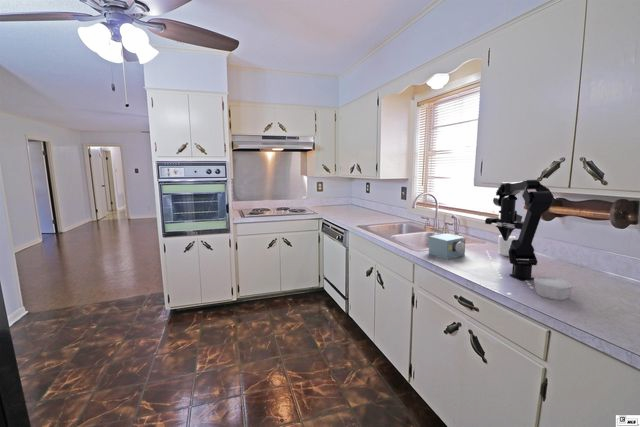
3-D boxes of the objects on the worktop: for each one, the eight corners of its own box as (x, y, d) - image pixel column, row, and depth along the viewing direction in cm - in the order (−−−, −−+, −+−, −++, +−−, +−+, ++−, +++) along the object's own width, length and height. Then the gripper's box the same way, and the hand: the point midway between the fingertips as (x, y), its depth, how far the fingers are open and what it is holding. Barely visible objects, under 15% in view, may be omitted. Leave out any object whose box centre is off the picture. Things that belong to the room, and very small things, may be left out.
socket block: (465, 255, 159) (466, 237, 157) (446, 259, 153) (447, 240, 151) (446, 250, 170) (447, 233, 168) (428, 253, 164) (429, 236, 162)
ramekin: (550, 287, 115) (552, 275, 114) (579, 300, 104) (581, 286, 103) (525, 290, 113) (526, 277, 113) (551, 303, 102) (553, 288, 102)
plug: (464, 252, 154) (465, 241, 153) (456, 254, 151) (457, 242, 150) (443, 246, 166) (443, 236, 166) (435, 247, 164) (435, 237, 163)
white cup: (513, 253, 160) (514, 235, 159) (515, 257, 153) (516, 238, 152) (496, 251, 164) (497, 234, 162) (497, 255, 157) (498, 237, 156)
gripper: (539, 209, 133) (536, 242, 136) (499, 205, 150) (497, 235, 152) (524, 211, 129) (522, 245, 131) (485, 207, 145) (483, 237, 148)
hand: (505, 240), depth 141 cm, fingers closed
